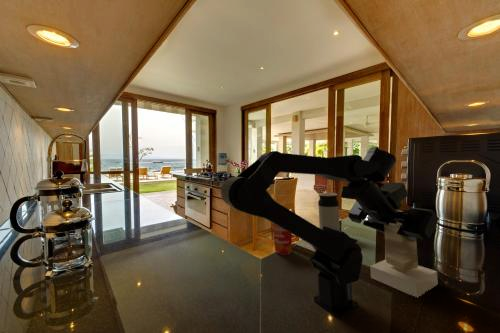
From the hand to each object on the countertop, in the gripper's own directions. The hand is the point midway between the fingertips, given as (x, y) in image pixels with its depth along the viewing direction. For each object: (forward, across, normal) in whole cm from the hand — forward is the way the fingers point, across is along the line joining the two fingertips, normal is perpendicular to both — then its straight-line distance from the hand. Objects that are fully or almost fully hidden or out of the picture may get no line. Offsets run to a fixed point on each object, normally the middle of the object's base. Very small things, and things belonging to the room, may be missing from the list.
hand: (403, 237), depth 51 cm
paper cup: (-5, +29, +21) cm, 36 cm away
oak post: (+4, 0, +6) cm, 7 cm away
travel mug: (+12, +34, +2) cm, 37 cm away
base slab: (+6, 0, +8) cm, 11 cm away
